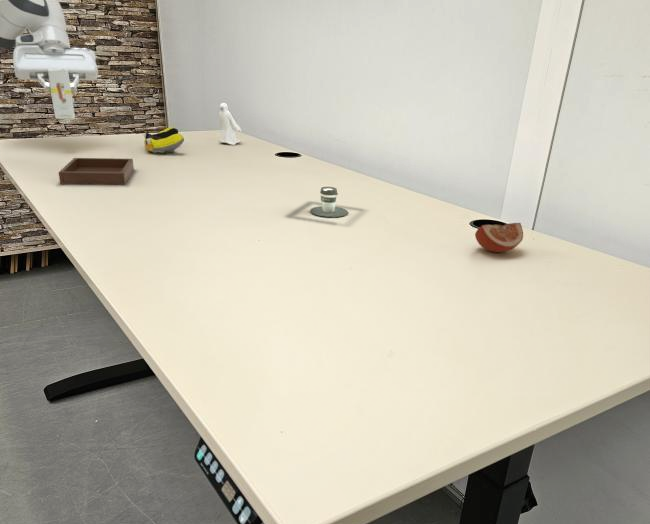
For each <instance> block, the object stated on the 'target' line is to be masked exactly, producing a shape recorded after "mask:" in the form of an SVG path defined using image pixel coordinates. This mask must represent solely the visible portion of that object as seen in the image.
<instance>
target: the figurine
mask: <svg viewBox="0 0 650 524" xmlns="http://www.w3.org/2000/svg"><path fill="white" fill-rule="evenodd" d="M219 109H220V111H218V117H219V118H218V120H219V125H220V127H221V136H220V139H219V142H220V143H222V144H223V143H224V144H225V143H226V144H229V145H232V146H234V145H237V144H238V143H241V140H240V139H239V138H238V137H237V136H236V133H235V131H236V132H240V133H242V132H243V130H242V127H240V125H239V124H238V123H237V122H236V120H235V119H234V117H233V115H232V114H231V112H230V111H229V106H228V104H227V103H226V102H221V103H220V104H219ZM234 130H235V131H234Z"/></svg>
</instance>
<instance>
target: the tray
mask: <svg viewBox="0 0 650 524" xmlns="http://www.w3.org/2000/svg"><path fill="white" fill-rule="evenodd" d="M134 167H135V166H134V158H110V157H109V158H107V157H106V158H105V157H104V158H102V157H74V158H72V159H71V160H70V161H69V162H68V163H67V164H66V165H65V166H64V167H63V168H62V169H60V170H59V171H58V177H59V184H60V185H95V186H97V185H101V186H103V185H106V186H107V185H108V186H110V185H111V186H112V185H113V186H126V184H127V182H128V180H129V179H130V177H131V175H132V173H133V172H134V170H135V168H134Z"/></svg>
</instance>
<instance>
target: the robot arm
mask: <svg viewBox="0 0 650 524" xmlns="http://www.w3.org/2000/svg"><path fill="white" fill-rule="evenodd" d="M27 30H28V31H30V33H26V34H24V33H25V32H26V31H27ZM0 49H4V50H5V49H9V50H10V49H13V53H12V54H13V55H12V60H13V61H12V62H13V70H14V75H15V77H16V78H17V79H18V80H30V81H32V80H34V81H35V80H36V81H37V83H39V84H40V85H41V86H42V87H43V90H44V93H51V89H50V83H49V82H47V81H49V75H48V69H56V68H68V74H69V80H70V81H73V82H70V86H71V92H72V93H78V86H79V84H80V81H96V80H97V79H98V78H99V68H98V65H97V62H96V61H97V56H96V53H95V51H93V50H92V49H89V48H88V47H72V46H71V43H70V39H69V35H68V32H67V22H66V18H65V14H64V11H63V7H62V6H61V3H60V2H59V0H0Z"/></svg>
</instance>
